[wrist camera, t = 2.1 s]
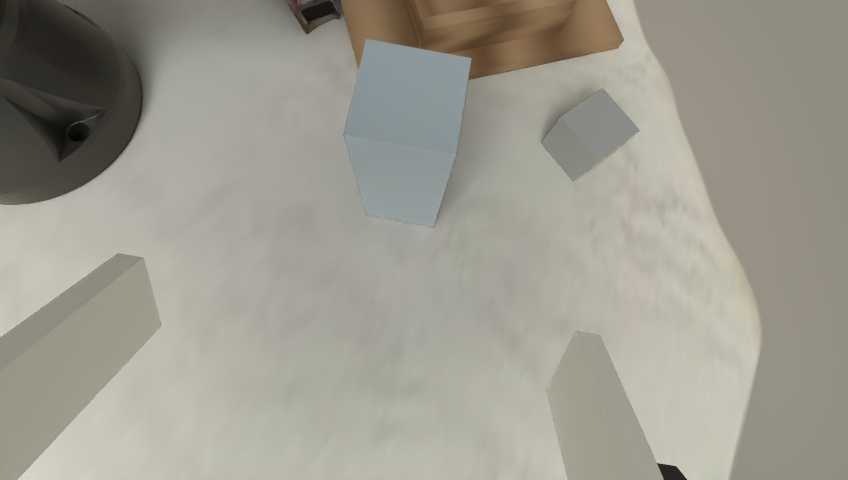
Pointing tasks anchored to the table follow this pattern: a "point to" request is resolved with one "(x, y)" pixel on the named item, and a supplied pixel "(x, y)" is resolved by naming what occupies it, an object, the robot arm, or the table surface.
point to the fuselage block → (405, 129)
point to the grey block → (588, 134)
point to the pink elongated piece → (313, 12)
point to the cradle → (486, 29)
